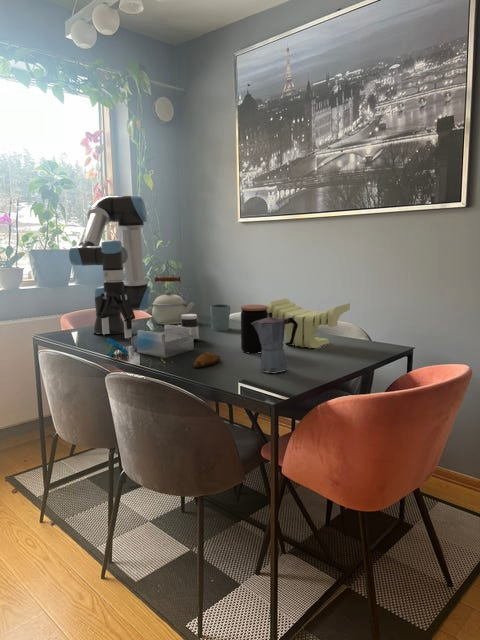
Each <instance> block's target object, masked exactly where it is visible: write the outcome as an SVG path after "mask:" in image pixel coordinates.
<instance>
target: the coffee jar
mask: <svg viewBox="0 0 480 640" xmlns="http://www.w3.org/2000/svg"><path fill="white" fill-rule="evenodd" d="M240 309H241V312H240V334H241V335H240V341H241V342H240V346H241V347H240V348H241V350H242V352H243V351H244V352H243V353H245V352H249V353H258V352H261V351H262V346H261V343H260V340H259V335H258V333H257V332H256V330H255V328H254V326H253V325H252V323H253V322H254V321H258V320H261V319H265V318H268V312H267V309H268V305H265V304H245V305H241V306H240Z"/></svg>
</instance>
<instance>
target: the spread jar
mask: <svg viewBox="0 0 480 640" xmlns="http://www.w3.org/2000/svg"><path fill="white" fill-rule="evenodd" d="M181 317H182V320H181V323H180V324H177V326H182V327H189V328H191V333H192V335H193V343H196V342H198V341H199V339H200V335H199V333H200V332H199V320H198V315H197V314H196V313H188V314H184V315H181Z"/></svg>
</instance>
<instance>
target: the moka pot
mask: <svg viewBox="0 0 480 640" xmlns="http://www.w3.org/2000/svg"><path fill="white" fill-rule="evenodd" d="M268 316H269V317H268V318H265V319H261V320H258V321H254V322H253V323H252V325H253V326H254V328H255V330H256V332H257V333H258V335H259V340H260V343H261V346H262V351H261V353H260V354H261V358H260V371H261V370H263V371H269V372H277V371H282V370H286V368H287V369H288V367H287V361H286V356H285V352H284V351H285V350H284V342H285V324H289V323H293V324H294V327H293V331H292V335H291V339H290V342H288V343H287V342H285V346H289V345H292V344H293V340H294V337H295V333H296V330H297V327H298V324H297V322H296V321H295V320H294V319H293V318H292V317H291V318H288V319H287V318H284V319H279V318H273V317H272V313H271V312H270V313H268ZM286 371H287V370H286Z"/></svg>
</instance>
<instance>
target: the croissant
mask: <svg viewBox="0 0 480 640" xmlns="http://www.w3.org/2000/svg"><path fill="white" fill-rule="evenodd" d="M218 361H219V362H221V356H220V355H219V354H217V353H216V354H215V353H212V352H209V351H206V352H204V353H201V354H200V355H199V356H198V357H197V358H196V359H195V360H194V362H193V366H192V367H193V369H199V368H205V367H208V366H209V367H210V366H213V365H215V364H217V363H219V362H218Z"/></svg>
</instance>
